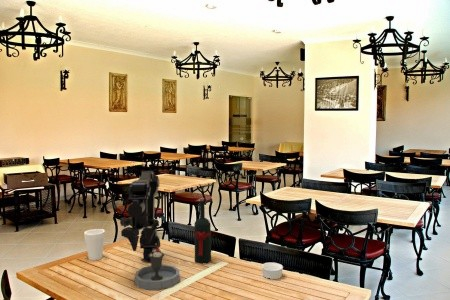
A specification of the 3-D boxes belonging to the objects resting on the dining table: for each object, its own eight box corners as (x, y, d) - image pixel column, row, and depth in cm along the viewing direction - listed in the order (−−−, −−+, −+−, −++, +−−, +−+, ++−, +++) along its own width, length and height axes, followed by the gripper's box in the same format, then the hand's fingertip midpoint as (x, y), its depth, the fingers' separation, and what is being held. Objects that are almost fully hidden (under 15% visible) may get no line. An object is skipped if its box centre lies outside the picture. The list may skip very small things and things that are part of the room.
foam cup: (98, 253, 194) (97, 227, 193) (109, 256, 188) (108, 230, 187) (81, 258, 186) (80, 232, 185) (92, 262, 181) (91, 235, 180)
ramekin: (285, 273, 166) (285, 264, 166) (279, 281, 158) (279, 271, 158) (265, 270, 170) (265, 261, 169) (258, 278, 162) (258, 268, 161)
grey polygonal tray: (152, 269, 173) (152, 262, 172) (187, 275, 165) (187, 268, 165) (126, 284, 156) (125, 277, 156) (163, 293, 149) (162, 285, 148)
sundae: (161, 282, 156) (160, 246, 155) (146, 281, 157) (145, 245, 156) (167, 275, 162) (166, 241, 161) (152, 274, 164) (151, 240, 163)
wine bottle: (192, 265, 176) (190, 200, 174) (196, 257, 186) (195, 196, 184) (209, 266, 175) (208, 201, 173) (212, 258, 185) (211, 196, 183)
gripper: (138, 204, 174) (139, 238, 175) (110, 214, 157) (111, 251, 158) (159, 207, 169) (160, 241, 170) (132, 217, 152) (133, 255, 153)
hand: (141, 247), depth 163 cm, fingers open, 9 cm apart
